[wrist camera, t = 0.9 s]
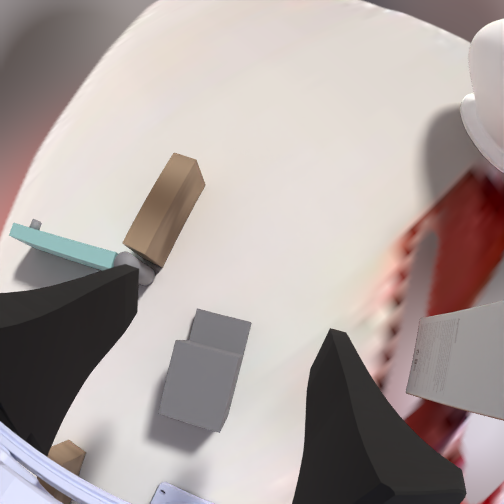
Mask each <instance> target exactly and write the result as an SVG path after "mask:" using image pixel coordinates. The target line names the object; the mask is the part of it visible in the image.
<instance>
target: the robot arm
mask: <svg viewBox="0 0 504 504" xmlns="http://www.w3.org/2000/svg"><path fill="white" fill-rule="evenodd" d="M138 283H139V268H136V267H133V266H130V265H127V264H123V265H119V266H116V267H112V268H109V269H106V270H103V271H100V272H97V273H94V274H91V275H88V276H85V277H82V278H78V279H75V280H71V281H68V282H64V283H61V284H58V285H54V286H49V287H45V288H40V289H34V290H28V291H19V292H10V293H0V504H63V503H62V502H60V501H58V500H57V499H55V498H54V497H53V496H52V495H51V494H50V493H49V492H47V490H46V489H45V488H44V487H43V486H42V485H41V484H40V482H39V481H38V479H37V478H36V477H35V476H33V475H32V474H31V473H30V472H29V471H31V472H32V473H33V474H35V475H36V476H38V477H39V478H40V479H42V480H43V481H45V482H46V483H48V484H49V485H51V486H52V487H54V488H55V489H57V490H58V491H60V492H62V493H63V494H65V495H66V496H68V497H70V498H71V499H73V500H75V501H76V502H78V503H80V504H131V503H129V502H127V501H124V500H122V499H120V498H118V497H116V496H114V495H112V494H110V493H108V492H106V491H104V490H102V489H100V488H98V487H96V486H94V485H93V484H91V483H89V482H87V481H85V480H84V479H82V478H80V477H78V476H77V475H75V474H73V473H72V472H70V471H68V470H67V469H65V468H63V467H62V466H60V465H59V464H57V463H56V462H54V461H52V460H51V459H49V458H48V457H47V456H48V454H49V451H50V448H51V446H52V444H53V441H54V439H55V436H56V434H57V432H58V430H59V428H60V425H61V423H62V421H63V419H64V417H65V415H66V413H67V411H68V410H69V408H70V406H71V404H72V402H73V401H74V399H75V397H76V395H77V394H78V392H79V390H80V389H81V387H82V386H83V384H84V382H85V381H86V379H87V378H88V376H89V375H90V373H91V372H92V371H93V369H94V368H95V367H96V366H97V365H98V363H99V362H100V361H101V360H102V359H103V357H104V356H105V355H106V354H107V353H108V352H109V350H110V349H111V348H112V347H113V346H114V345H115V343H116V342H117V341H118V340H119V339H120V337H121V336H122V335H123V334H124V332H125V331H126V330H127V328H128V327H129V325H130V323H131V322H132V320H133V319H134V317H135V315H136V314H137V306H138ZM17 461H18V462H19V463H20V464H21V465H20V464H19V463H18V462H17ZM22 465H23V466H24V467H25V468H27V469H28V470H29V471H27V470H26V469H25V468H24V467H23V466H22ZM161 490H164V491H165V493H163V492H161ZM465 496H466V488H465V483H464V478H463V473H462V470H461V469H460V468H458V467H457V466H456V465H454V464H453V463H451V462H450V461H448V460H447V459H445V458H444V457H443V456H441V455H440V454H439V453H437V452H436V451H435V450H434V449H433V448H431V447H430V446H429V445H428V444H427V443H426V442H424V441H423V440H422V439H421V438H420V437H419V436H418V435H417V434H416V433H415V432H414V431H413V430H412V429H411V428H410V427H409V426H408V425H407V424H406V423H405V422H404V420H403V419H402V418H401V417H400V416H399V415H398V413H397V412H396V411H395V410H394V408H393V407H392V406H391V405H390V403H389V402H388V401H387V399H386V398H385V397H384V395H383V394H382V392H381V391H380V389H379V388H378V386H377V385H376V383H375V382H374V380H373V379H372V377H371V376H370V374H369V372H368V371H367V369H366V367H365V365H364V364H363V362H362V360H361V358H360V357H359V355H358V353H357V351H356V349H355V348H354V346H353V344H352V342H351V340H350V338H349V337H348V335H347V333H346V332H342V331H338V330H335V329H331V328H330V330H329V332H328V334H327V336H326V338H325V340H324V342H323V344H322V346H321V348H320V350H319V353H318V355H317V357H316V359H315V361H314V363H313V365H312V367H311V369H310V375H309V381H308V387H307V396H306V420H305V441H304V451H303V457H302V462H301V467H300V473H299V477H298V482H297V486H296V490H295V495H294V498H293V502H292V504H460V503H461V502H462V501H463V499H464V498H465ZM150 504H214V503H211V502H209V501H207V500H204V499H202V498H199V497H197V496H195V495H193V494H190V493H188V492H186V491H184V490H181V489H179V488H177V487H175V486H173V485H171V484H169V483H167V482H162V483H161V484H160V485H159V486H158V489H157V491H156V493H155V495H154V497H153V499H152V501H151V503H150Z"/></svg>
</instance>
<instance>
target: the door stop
mask: <svg viewBox="0 0 504 504" xmlns="http://www.w3.org/2000/svg"><path fill="white" fill-rule="evenodd" d="M250 327H251V322H248V321H244V320H240V319H236V318H232V317H228V316H224V315H220V314H216V313H212V312H208V311H205V310H201V309H197V311H196V315H195V319H194V322H193V326H192V330H191V334H190V338H189V340H176V341H175V345H174V349H173V353H172V357H171V361H170V365H169V369H168V373H167V378H166V382H165V386H164V390H163V395H162V399H161V403H160V408H159V412H158V414H161V415H164V416H167V417H170V418H172V419H175V420H178V421H182V422H185V423H188V424H191V425H194V426H198V427H201V428H204V429H208V430H212V431H215V432H219V433H220V431H221V429H222V427H223V425H224V423H225V421H226V419H227V417H228V414H229V410H230V406H231V402H232V398H233V394H234V391H235V387H236V383H237V379H238V375H239V371H240V367H241V363H242V359H243V355H244V351H245V347H246V343H247V339H248V335H249V331H250Z"/></svg>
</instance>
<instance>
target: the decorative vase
mask: <svg viewBox="0 0 504 504" xmlns="http://www.w3.org/2000/svg"><path fill="white" fill-rule="evenodd" d="M468 63H469V71H470V77H471V82H472V87H473V92H474V93H471V94H468V95H467V96H465V98H464V99H463V100H462V102H461V106H460V114H461V118H462V122H463V124H464V127H465V129H466V131H467V133H468V135H469V136H470V138H471V140H472V141H473V143H474V144H475V146H476V147H477V148H478V150H479V151H480V152H481V153H482V154H483V156H484V157H485V158H486V159H487V160H488V161H489V162H490V163H491V164H492V165H493V166H495V167H496V168H497V169H498V170H500V171H501V172H503V173H504V19H501V20H497V21H494V22H492V23H490V24H488V25H486V26H484V27H483V28H482V29H481V30H480V31H479V32H478V33H477V34H476V36H475V37H474V39H473V40H472V42H471V45H470V48H469V54H468Z"/></svg>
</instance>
